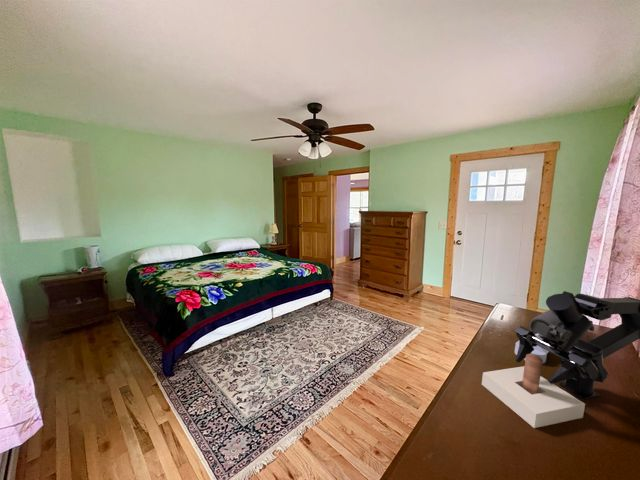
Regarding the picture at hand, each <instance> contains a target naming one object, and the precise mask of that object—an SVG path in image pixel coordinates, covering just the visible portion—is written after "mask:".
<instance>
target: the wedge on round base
mask: <svg viewBox="0 0 640 480" xmlns="http://www.w3.org/2000/svg"><path fill="white" fill-rule="evenodd" d="M535 335H536V337H537V338H538V339H541V340H543V339H542V338H540V337H539V333H538V334H535ZM519 343H520V342H519V340H518V341H516V342H515V346H514V354H515V355H516V356H517V353H518V349H519ZM533 348H534V349H535V350H534V351H532V352H531V353H530V354H533V355H536V356H538V357H540V358H541V359H542V360H543V362H542V365H543V364H546V362H547V355H548V353H550V351H548V350H546V349H544V348H542V347H540V346H538V345H537V346H535V347H533ZM525 359H526V358H524V359H523V360H524V361H525Z"/></svg>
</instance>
